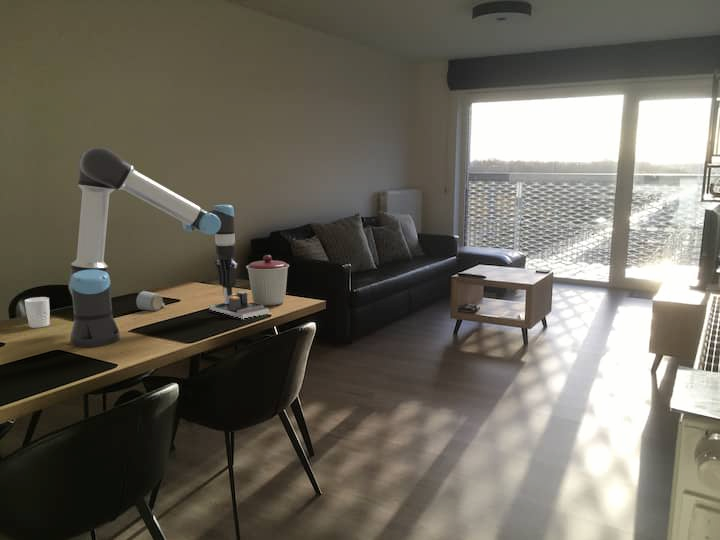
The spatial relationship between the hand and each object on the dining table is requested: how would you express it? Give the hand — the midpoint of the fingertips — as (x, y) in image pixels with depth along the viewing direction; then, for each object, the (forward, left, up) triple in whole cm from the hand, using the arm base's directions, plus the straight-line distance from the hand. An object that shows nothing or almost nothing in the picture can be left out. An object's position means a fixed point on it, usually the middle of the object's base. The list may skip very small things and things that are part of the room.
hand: (228, 303), depth 226 cm
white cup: (-56, +39, -5) cm, 69 cm away
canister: (+23, +2, -5) cm, 23 cm away
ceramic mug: (-16, +31, -5) cm, 35 cm away
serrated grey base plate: (+5, -1, -4) cm, 6 cm away
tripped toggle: (0, -4, -2) cm, 5 cm away
